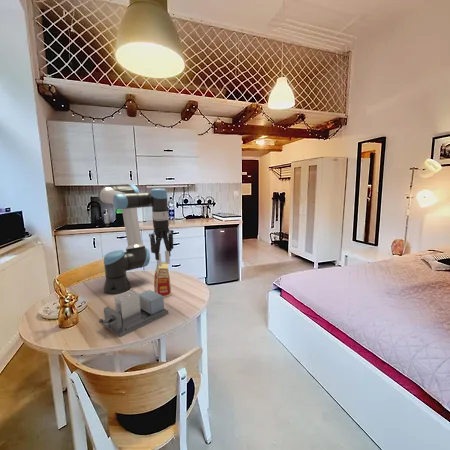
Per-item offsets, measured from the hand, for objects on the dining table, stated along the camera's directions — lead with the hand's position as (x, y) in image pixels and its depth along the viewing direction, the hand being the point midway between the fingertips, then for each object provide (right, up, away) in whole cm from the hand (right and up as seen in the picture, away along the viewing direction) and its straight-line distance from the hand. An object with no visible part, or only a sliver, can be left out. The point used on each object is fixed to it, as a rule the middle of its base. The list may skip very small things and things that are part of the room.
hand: (163, 264), depth 132 cm
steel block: (-13, -24, -12) cm, 30 cm away
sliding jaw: (-6, -22, -3) cm, 23 cm away
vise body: (-12, -25, -10) cm, 29 cm away
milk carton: (-4, -20, +18) cm, 27 cm away
